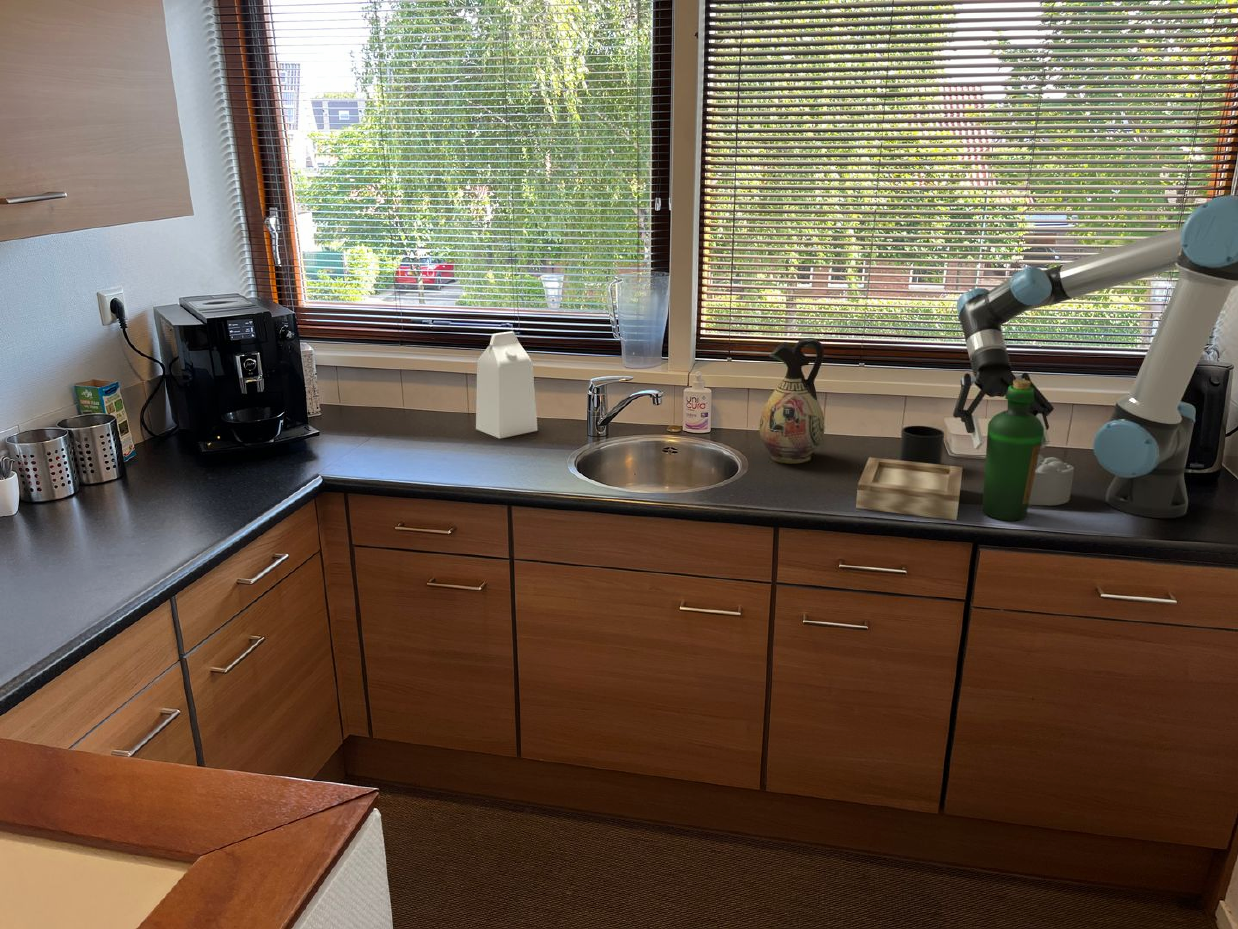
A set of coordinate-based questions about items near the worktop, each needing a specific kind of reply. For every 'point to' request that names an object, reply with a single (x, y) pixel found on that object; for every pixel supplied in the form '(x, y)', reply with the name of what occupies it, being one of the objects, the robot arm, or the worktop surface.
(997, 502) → the bottle
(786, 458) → the ceramic jug
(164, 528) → the worktop surface
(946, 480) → the rectangular wooden box
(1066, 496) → the lumpy-topped squat cylinder
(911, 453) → the mug
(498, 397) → the milk
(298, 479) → the worktop surface
